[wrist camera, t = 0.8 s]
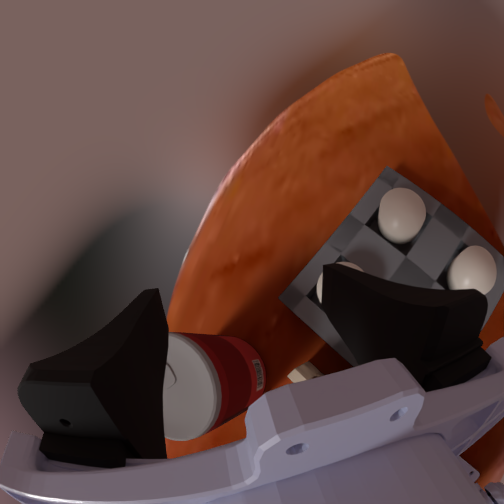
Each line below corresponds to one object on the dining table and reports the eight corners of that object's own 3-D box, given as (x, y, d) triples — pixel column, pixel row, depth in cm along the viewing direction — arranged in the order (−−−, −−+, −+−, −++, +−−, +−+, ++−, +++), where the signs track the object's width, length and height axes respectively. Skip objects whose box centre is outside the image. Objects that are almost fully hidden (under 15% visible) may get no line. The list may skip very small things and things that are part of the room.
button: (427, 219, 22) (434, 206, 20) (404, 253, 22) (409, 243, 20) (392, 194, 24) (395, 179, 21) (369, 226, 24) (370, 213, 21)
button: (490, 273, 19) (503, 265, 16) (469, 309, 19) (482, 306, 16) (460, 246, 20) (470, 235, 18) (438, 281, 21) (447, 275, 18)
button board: (501, 274, 20) (514, 267, 17) (406, 410, 20) (412, 418, 18) (385, 181, 27) (386, 165, 24) (285, 301, 27) (277, 297, 25)
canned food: (227, 320, 29) (161, 308, 19) (286, 373, 25) (242, 394, 15) (184, 371, 29) (110, 379, 19) (236, 424, 25) (174, 460, 15)
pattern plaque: (378, 419, 21) (384, 443, 15) (369, 427, 21) (373, 453, 15) (310, 359, 25) (297, 366, 19) (302, 367, 25) (287, 376, 19)
